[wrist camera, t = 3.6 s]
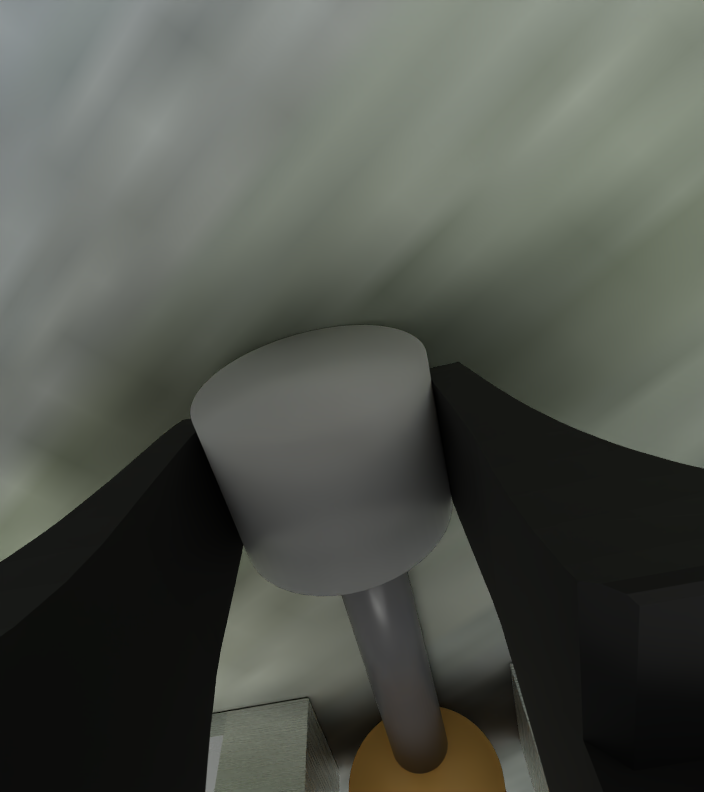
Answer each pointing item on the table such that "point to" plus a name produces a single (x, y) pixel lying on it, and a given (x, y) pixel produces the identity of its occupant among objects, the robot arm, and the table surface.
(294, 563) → the plug
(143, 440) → the table surface
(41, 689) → the robot arm
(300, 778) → the housing
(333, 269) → the table surface
